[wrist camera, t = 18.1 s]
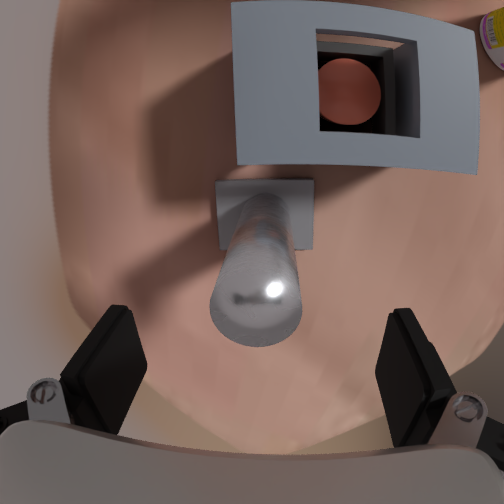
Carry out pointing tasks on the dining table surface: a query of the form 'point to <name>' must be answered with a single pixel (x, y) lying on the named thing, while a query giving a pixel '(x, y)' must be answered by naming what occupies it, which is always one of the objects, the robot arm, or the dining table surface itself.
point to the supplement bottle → (493, 36)
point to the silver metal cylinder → (259, 277)
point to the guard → (384, 68)
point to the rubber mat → (288, 189)
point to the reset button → (347, 92)
